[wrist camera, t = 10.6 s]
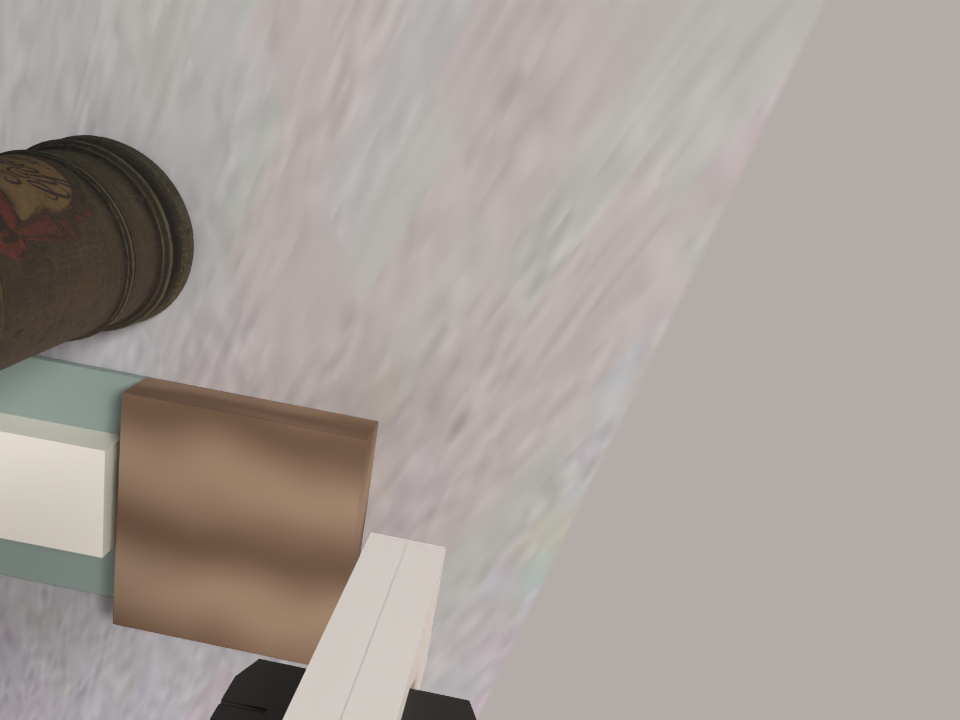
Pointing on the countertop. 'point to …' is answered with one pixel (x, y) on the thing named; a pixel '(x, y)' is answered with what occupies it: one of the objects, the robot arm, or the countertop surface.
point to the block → (58, 485)
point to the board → (237, 517)
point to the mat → (74, 402)
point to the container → (85, 242)
